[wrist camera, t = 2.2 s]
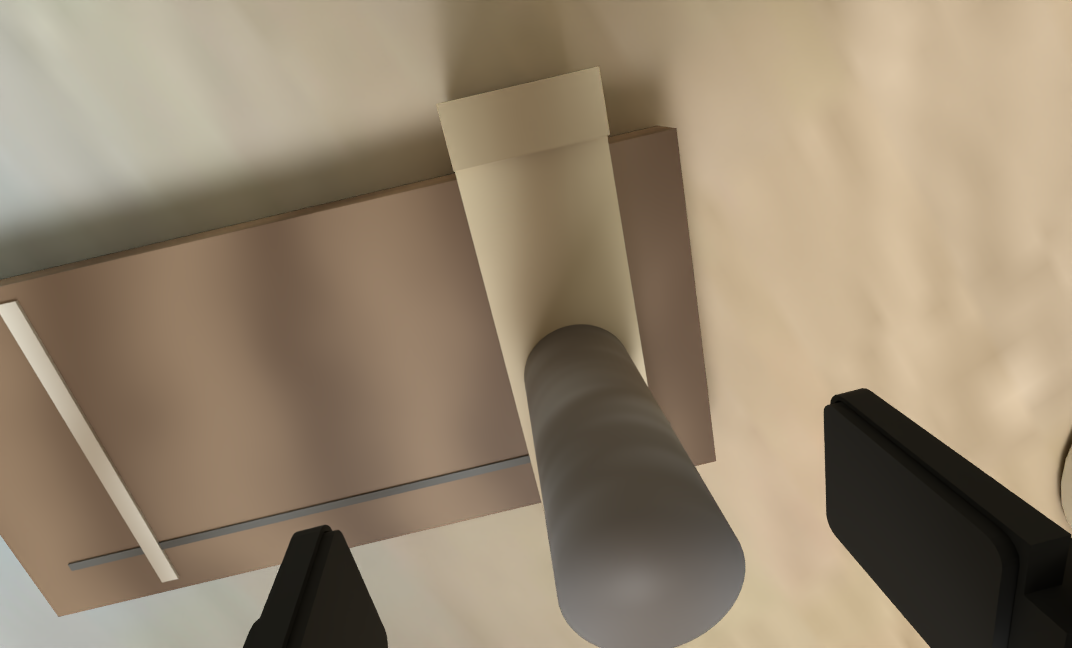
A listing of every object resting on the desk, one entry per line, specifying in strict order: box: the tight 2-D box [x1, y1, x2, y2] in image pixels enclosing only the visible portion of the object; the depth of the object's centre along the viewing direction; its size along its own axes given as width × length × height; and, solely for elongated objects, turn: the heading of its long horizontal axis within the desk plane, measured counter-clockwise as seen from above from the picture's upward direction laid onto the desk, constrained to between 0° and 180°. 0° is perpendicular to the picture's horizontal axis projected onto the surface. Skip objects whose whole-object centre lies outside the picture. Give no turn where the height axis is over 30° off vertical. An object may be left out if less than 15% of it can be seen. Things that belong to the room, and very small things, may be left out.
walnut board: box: [0, 126, 716, 617], centre depth 20 cm, size 25×12×2 cm, turn 102°
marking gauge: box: [436, 66, 745, 648], centre depth 15 cm, size 4×15×12 cm, turn 12°
